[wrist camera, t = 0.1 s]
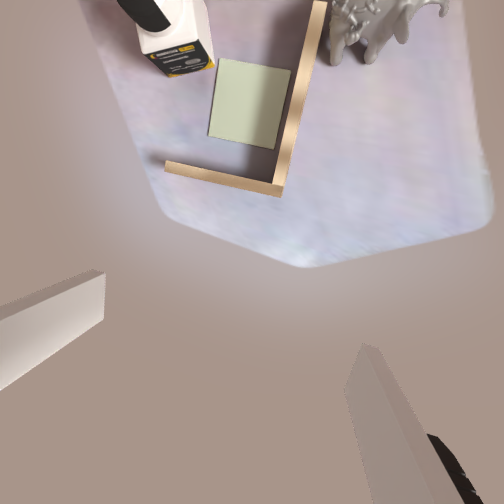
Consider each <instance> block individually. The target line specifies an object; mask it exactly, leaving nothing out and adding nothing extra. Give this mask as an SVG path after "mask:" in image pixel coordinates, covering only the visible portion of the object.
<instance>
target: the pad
mask: <svg viewBox="0 0 504 504" xmlns="http://www.w3.org/2000/svg"><path fill="white" fill-rule="evenodd" d="M290 75H291V70H285V69H280V68H274V67H268V66H263V65H257V64H251V63H246V62H240V61H234V60H229V59H223V58H220V60H219V67H218V74H217V81H216V87H215V94H214V101H213V107H212V114H211V121H210V128H209V134H208V136H211V137H215V138H220V139H225V140H230V141H235V142H239V143H244V144H249V145H254V146H259V147H263V148H268V149H273V150H274V147H275V142H276V138H277V133H278V129H279V124H280V120H281V115H282V111H283V106H284V102H285V97H286V93H287V88H288V84H289V79H290Z"/></svg>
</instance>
